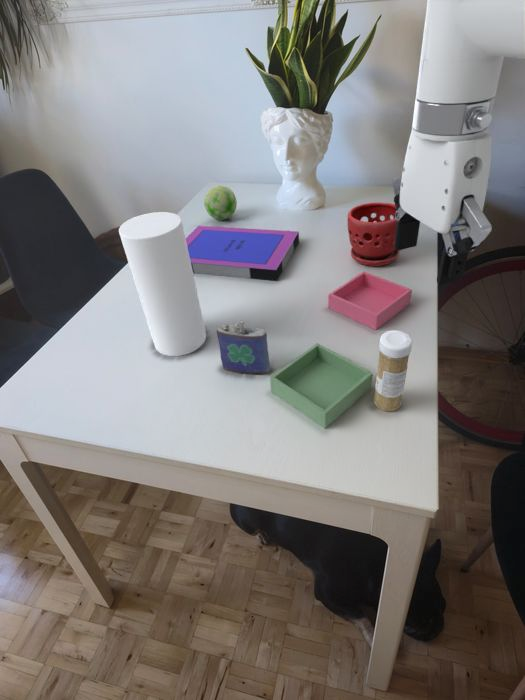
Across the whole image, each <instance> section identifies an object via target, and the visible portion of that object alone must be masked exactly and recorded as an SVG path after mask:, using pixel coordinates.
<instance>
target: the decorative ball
mask: <svg viewBox="0 0 525 700" xmlns="http://www.w3.org/2000/svg"><path fill="white" fill-rule="evenodd" d="M203 204H204V205H203V206H204V209H205V210H206V213H207V214H208V216H210V217H212V218H213V219H215V220H219V221H224V220H227V219H229V218H231V217H232V216H233V215H234V213H235V211H236V210H237V205H238V202H237V197H236V195H235V193H234V191H233V190H232V189H231V188H230V187H227V186H225V185H215V186H213V187H212V188H210V189H208V191H207V192H206V194H205V197H204V203H203Z"/></svg>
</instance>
